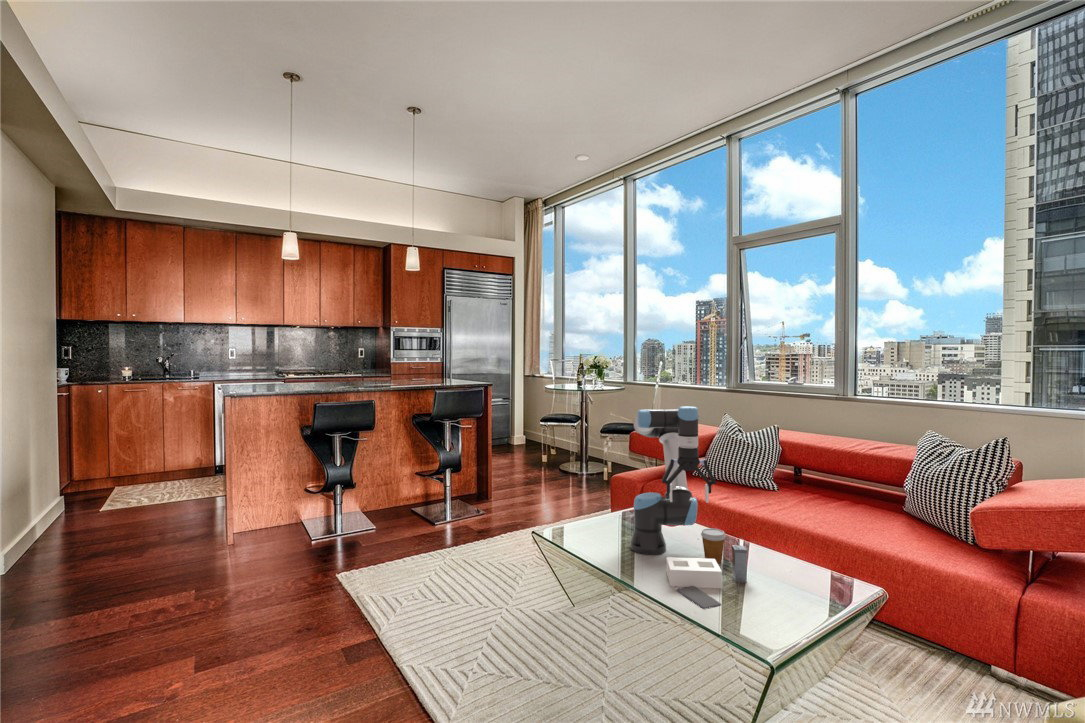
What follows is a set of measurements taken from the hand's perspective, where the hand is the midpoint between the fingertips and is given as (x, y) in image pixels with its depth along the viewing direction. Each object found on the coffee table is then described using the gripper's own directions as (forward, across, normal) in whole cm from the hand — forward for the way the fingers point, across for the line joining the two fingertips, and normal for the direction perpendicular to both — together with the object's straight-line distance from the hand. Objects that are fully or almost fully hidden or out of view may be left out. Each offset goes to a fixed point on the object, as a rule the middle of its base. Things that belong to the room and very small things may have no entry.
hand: (688, 501), depth 201 cm
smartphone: (+27, -1, -23) cm, 36 cm away
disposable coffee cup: (+27, +11, +10) cm, 31 cm away
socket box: (+27, 0, -9) cm, 28 cm away
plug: (+27, +17, -7) cm, 32 cm away
